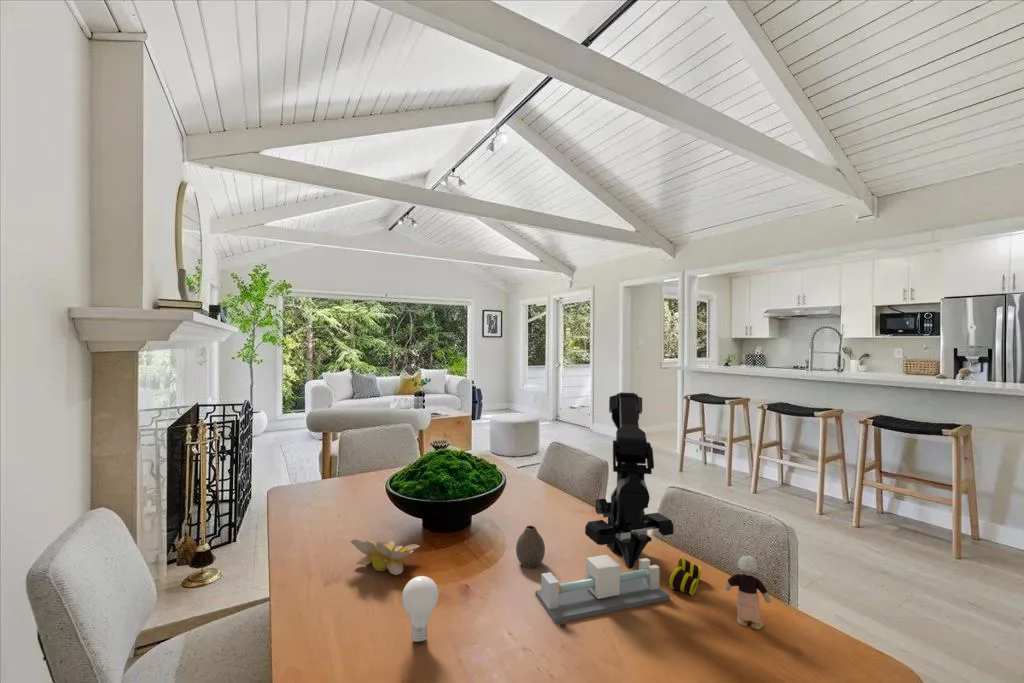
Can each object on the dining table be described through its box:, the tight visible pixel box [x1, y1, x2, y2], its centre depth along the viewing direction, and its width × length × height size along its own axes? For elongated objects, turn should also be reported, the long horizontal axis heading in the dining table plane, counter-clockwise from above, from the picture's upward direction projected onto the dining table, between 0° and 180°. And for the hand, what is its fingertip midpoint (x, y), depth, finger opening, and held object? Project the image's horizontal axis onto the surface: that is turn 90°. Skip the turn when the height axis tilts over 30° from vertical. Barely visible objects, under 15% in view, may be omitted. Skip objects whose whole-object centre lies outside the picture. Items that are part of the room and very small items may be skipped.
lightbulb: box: [401, 575, 439, 643], centre depth 80 cm, size 6×6×11 cm
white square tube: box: [585, 554, 621, 599], centre depth 95 cm, size 5×5×6 cm
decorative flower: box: [349, 539, 420, 576], centre depth 106 cm, size 15×11×10 cm
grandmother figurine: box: [724, 555, 772, 630], centre depth 87 cm, size 8×4×13 cm, turn 71°
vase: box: [515, 525, 546, 569], centre depth 109 cm, size 7×7×9 cm
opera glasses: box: [668, 555, 702, 596], centre depth 100 cm, size 10×5×5 cm, turn 149°
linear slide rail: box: [535, 557, 671, 624], centre depth 95 cm, size 26×10×6 cm, turn 109°
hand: (629, 567), depth 97 cm, fingers closed
